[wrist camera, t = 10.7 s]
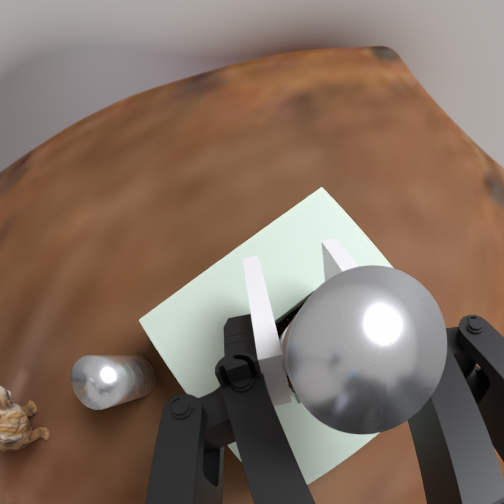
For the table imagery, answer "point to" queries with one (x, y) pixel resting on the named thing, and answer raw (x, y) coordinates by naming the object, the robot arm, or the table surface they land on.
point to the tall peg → (366, 349)
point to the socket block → (282, 304)
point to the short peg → (111, 380)
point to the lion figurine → (17, 424)
